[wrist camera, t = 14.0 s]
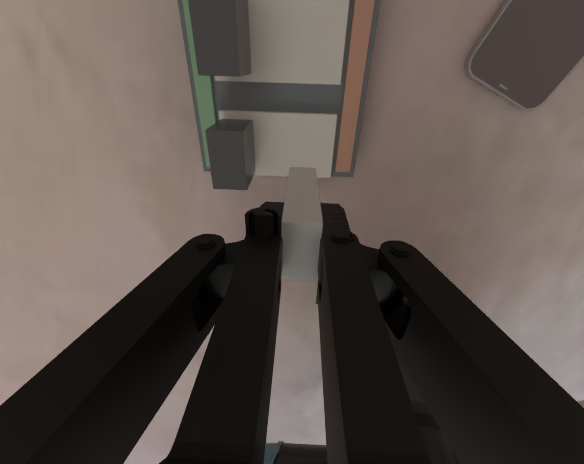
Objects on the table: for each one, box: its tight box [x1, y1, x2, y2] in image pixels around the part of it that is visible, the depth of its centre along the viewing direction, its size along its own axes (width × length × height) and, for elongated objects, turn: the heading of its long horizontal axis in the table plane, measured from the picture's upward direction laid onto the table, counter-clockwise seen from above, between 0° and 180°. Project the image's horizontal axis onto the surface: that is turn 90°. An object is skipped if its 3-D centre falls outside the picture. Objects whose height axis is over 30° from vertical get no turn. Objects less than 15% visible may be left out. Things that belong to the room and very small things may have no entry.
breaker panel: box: [178, 0, 380, 178], centre depth 19 cm, size 13×19×2 cm
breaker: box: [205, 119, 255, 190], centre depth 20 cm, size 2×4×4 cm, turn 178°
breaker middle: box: [188, 0, 251, 77], centre depth 16 cm, size 2×4×4 cm, turn 179°
